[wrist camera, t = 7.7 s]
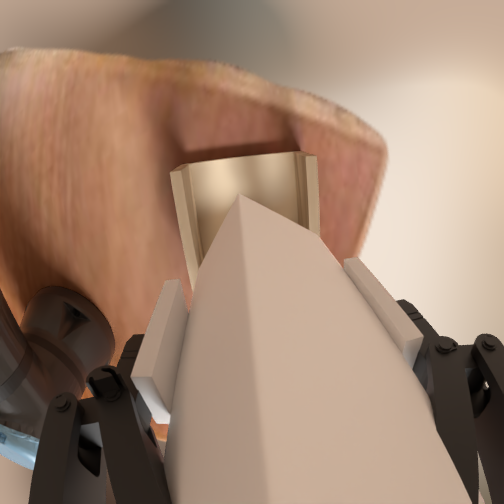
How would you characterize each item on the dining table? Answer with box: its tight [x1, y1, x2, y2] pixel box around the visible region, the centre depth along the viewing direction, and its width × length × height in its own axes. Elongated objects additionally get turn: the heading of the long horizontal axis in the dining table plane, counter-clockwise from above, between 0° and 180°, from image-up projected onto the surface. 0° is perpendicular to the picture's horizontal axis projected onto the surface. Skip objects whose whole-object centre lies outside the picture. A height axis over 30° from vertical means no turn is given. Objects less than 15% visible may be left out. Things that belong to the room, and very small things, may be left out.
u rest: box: [170, 151, 320, 291], centre depth 29 cm, size 12×12×6 cm
